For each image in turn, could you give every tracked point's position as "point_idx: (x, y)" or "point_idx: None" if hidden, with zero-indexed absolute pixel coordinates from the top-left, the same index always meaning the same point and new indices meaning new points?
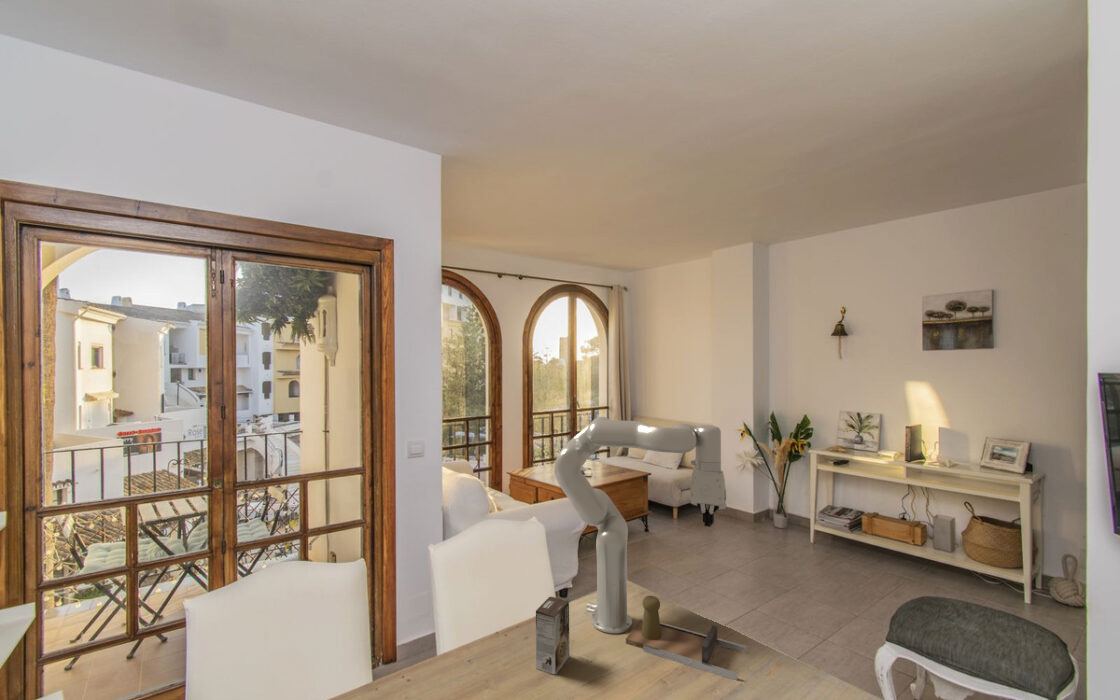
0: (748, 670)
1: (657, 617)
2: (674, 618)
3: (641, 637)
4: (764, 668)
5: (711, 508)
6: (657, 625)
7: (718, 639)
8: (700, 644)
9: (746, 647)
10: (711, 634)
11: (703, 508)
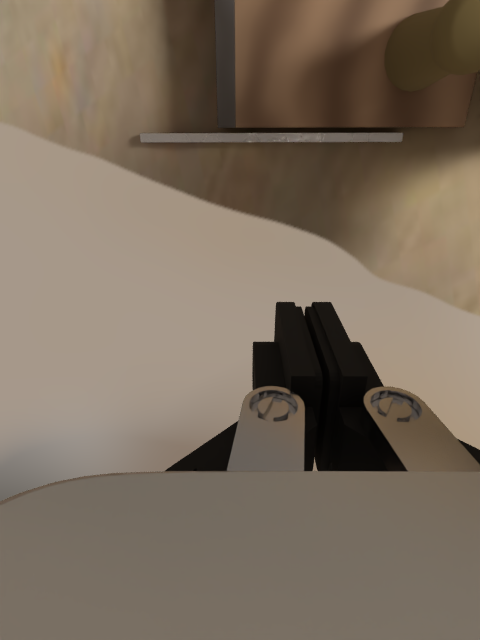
0: (113, 39)
1: (423, 29)
2: (362, 215)
3: None
4: (80, 78)
5: (271, 451)
6: (411, 29)
7: (219, 136)
8: (261, 81)
9: (141, 140)
10: (222, 59)
11: (409, 435)
